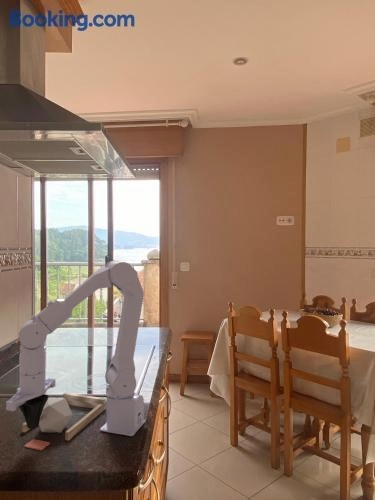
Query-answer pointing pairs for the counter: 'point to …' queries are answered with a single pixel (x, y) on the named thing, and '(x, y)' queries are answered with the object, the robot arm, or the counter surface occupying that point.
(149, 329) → the counter surface
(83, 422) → the channel
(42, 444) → the mat
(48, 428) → the die
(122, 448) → the counter surface
